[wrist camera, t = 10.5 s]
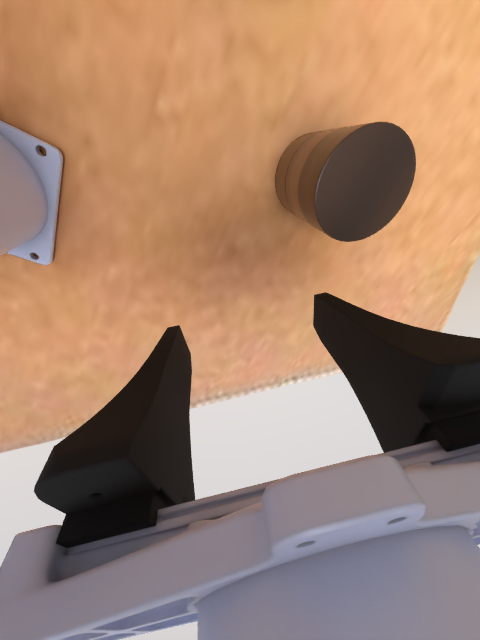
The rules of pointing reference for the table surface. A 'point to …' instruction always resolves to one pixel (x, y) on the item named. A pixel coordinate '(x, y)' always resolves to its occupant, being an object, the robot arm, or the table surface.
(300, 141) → the oak chip bottom
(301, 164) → the disc
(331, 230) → the walnut chip
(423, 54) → the table surface
